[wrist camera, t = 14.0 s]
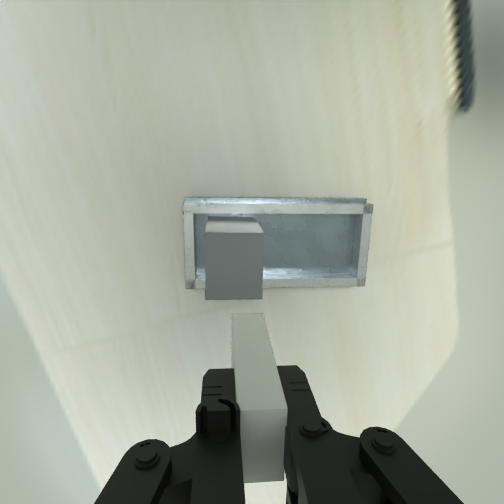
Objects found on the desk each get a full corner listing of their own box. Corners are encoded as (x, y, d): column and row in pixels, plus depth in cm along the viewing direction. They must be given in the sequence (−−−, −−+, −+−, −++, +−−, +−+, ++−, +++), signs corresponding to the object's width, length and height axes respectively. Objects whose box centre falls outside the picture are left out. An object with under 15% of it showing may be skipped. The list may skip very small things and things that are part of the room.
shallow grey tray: (185, 196, 38) (182, 199, 35) (363, 198, 40) (373, 200, 37) (188, 283, 40) (186, 292, 38) (355, 281, 42) (364, 289, 39)
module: (208, 216, 38) (204, 232, 29) (254, 216, 38) (264, 232, 29) (208, 270, 39) (205, 300, 30) (253, 269, 40) (262, 300, 31)
